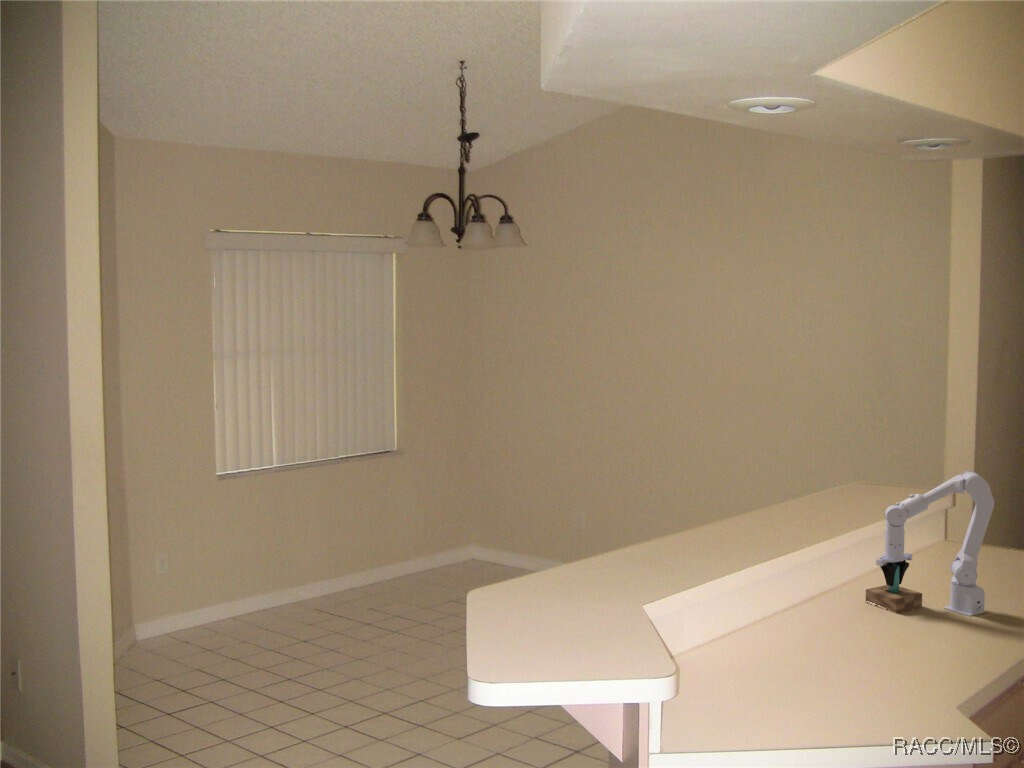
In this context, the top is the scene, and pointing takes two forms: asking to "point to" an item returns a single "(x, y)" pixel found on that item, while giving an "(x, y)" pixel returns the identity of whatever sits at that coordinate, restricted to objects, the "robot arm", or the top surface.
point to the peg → (895, 582)
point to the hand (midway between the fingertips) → (893, 584)
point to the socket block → (894, 598)
